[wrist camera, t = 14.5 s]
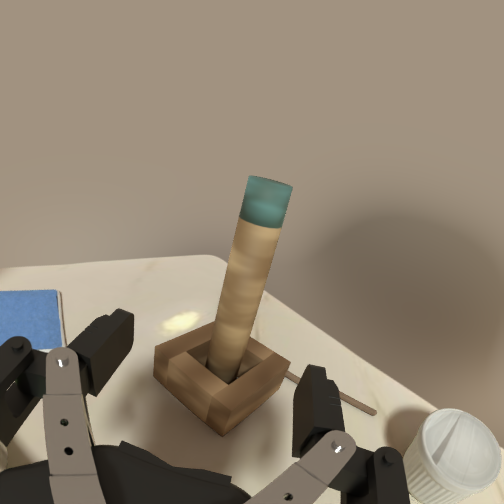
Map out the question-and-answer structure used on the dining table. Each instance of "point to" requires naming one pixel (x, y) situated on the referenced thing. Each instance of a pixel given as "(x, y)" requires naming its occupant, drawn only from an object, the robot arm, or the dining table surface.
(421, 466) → the ramekin
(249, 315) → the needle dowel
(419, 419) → the dining table surface
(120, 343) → the robot arm
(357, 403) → the wooden sticks
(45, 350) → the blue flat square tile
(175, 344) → the square wooden holder
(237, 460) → the dining table surface
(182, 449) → the dining table surface
